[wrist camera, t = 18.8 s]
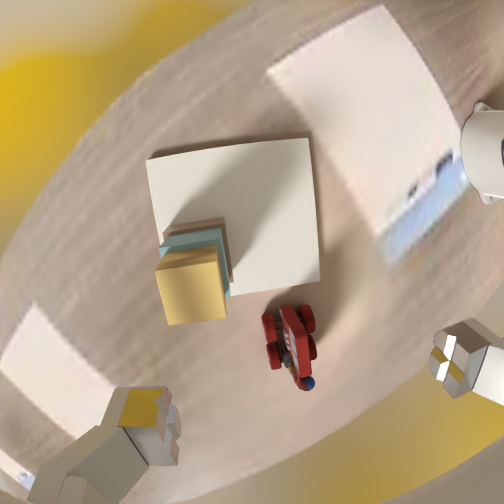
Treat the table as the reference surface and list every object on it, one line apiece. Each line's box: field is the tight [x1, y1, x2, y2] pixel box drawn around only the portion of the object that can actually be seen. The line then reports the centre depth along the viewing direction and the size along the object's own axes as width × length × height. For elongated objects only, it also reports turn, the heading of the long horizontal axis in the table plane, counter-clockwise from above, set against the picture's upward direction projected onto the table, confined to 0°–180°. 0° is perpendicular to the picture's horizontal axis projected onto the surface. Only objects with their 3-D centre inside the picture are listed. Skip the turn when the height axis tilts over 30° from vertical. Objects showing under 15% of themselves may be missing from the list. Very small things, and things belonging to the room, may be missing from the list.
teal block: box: [159, 228, 231, 298], centre depth 31 cm, size 6×6×5 cm
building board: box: [146, 138, 320, 296], centre depth 35 cm, size 20×19×5 cm
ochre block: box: [155, 245, 226, 325], centre depth 26 cm, size 5×5×5 cm
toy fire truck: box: [261, 304, 317, 391], centre depth 38 cm, size 7×12×10 cm, turn 9°
